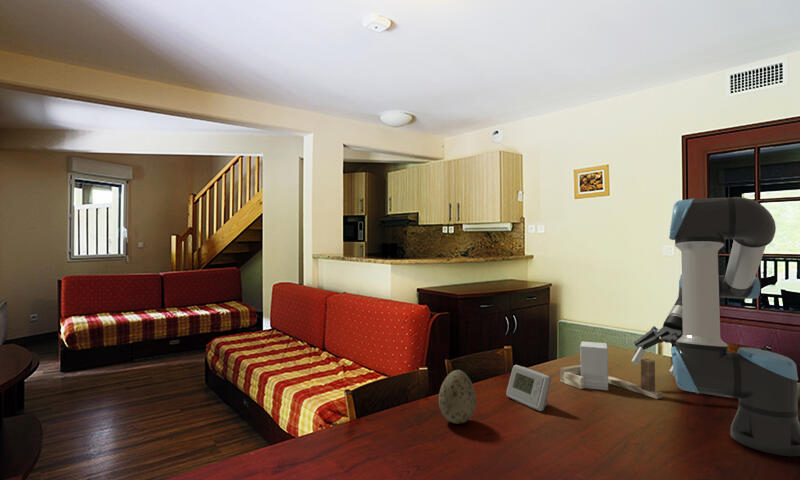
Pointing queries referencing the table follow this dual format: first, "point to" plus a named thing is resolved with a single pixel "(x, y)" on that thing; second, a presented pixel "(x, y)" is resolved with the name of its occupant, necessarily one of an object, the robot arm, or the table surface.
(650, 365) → the hooked slat
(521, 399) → the digital clock
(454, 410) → the decorative egg
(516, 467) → the table surface
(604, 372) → the supplement box
